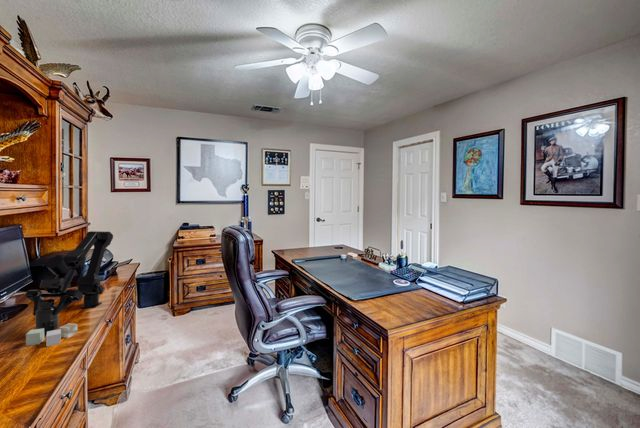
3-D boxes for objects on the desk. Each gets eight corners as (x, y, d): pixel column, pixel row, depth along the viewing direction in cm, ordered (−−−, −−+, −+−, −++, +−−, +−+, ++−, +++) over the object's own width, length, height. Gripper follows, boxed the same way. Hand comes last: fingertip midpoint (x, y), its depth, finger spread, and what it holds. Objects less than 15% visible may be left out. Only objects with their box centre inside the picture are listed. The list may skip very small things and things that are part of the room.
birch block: (68, 332, 121) (68, 323, 121) (77, 333, 121) (77, 323, 121) (59, 337, 117) (59, 327, 117) (68, 338, 117) (68, 328, 117)
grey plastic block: (47, 341, 114) (47, 331, 113) (61, 338, 116) (60, 328, 116) (46, 346, 110) (46, 336, 110) (60, 343, 112) (60, 333, 112)
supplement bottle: (56, 324, 125) (56, 296, 124) (60, 329, 121) (59, 301, 120) (34, 329, 120) (33, 300, 119) (37, 335, 116) (36, 305, 115)
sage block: (30, 341, 113) (30, 329, 113) (44, 339, 115) (44, 328, 115) (26, 346, 110) (25, 334, 110) (40, 344, 112) (39, 332, 111)
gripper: (27, 270, 121) (4, 307, 111) (78, 270, 124) (60, 306, 114) (42, 283, 129) (22, 318, 119) (89, 283, 132) (74, 317, 122)
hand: (44, 315), depth 118 cm, fingers closed on supplement bottle, 7 cm apart
